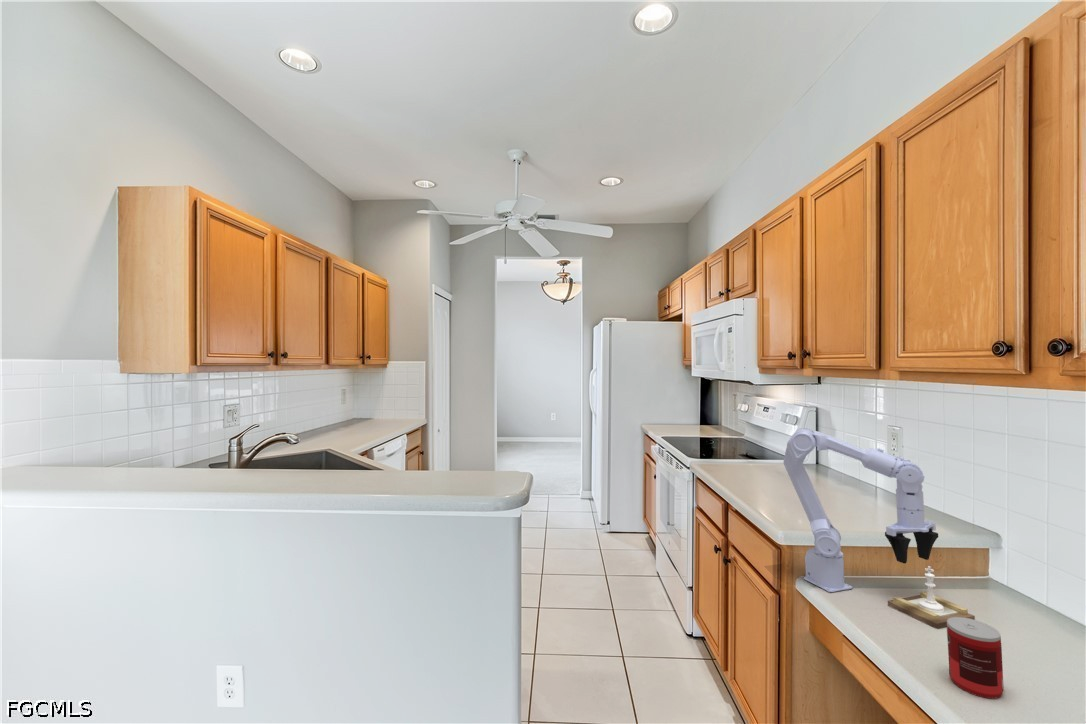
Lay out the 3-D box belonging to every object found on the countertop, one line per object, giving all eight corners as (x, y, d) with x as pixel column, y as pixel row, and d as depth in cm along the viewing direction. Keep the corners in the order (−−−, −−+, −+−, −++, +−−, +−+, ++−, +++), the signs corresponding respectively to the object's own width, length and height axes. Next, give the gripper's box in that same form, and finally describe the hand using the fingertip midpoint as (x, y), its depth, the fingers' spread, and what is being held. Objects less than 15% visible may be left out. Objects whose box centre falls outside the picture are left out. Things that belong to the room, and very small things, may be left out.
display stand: (887, 605, 123) (887, 596, 123) (923, 598, 126) (922, 589, 126) (937, 628, 111) (936, 618, 111) (974, 620, 114) (974, 610, 114)
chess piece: (916, 601, 122) (914, 561, 122) (941, 605, 119) (939, 564, 120) (920, 609, 117) (918, 568, 118) (946, 614, 115) (944, 571, 115)
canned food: (975, 671, 95) (972, 615, 96) (1016, 698, 87) (1013, 637, 88) (938, 673, 95) (935, 617, 95) (976, 700, 87) (972, 639, 87)
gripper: (903, 514, 120) (906, 569, 120) (947, 509, 124) (949, 562, 123) (877, 507, 127) (880, 559, 126) (919, 502, 131) (921, 552, 130)
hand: (912, 560), depth 125 cm, fingers open, 7 cm apart
